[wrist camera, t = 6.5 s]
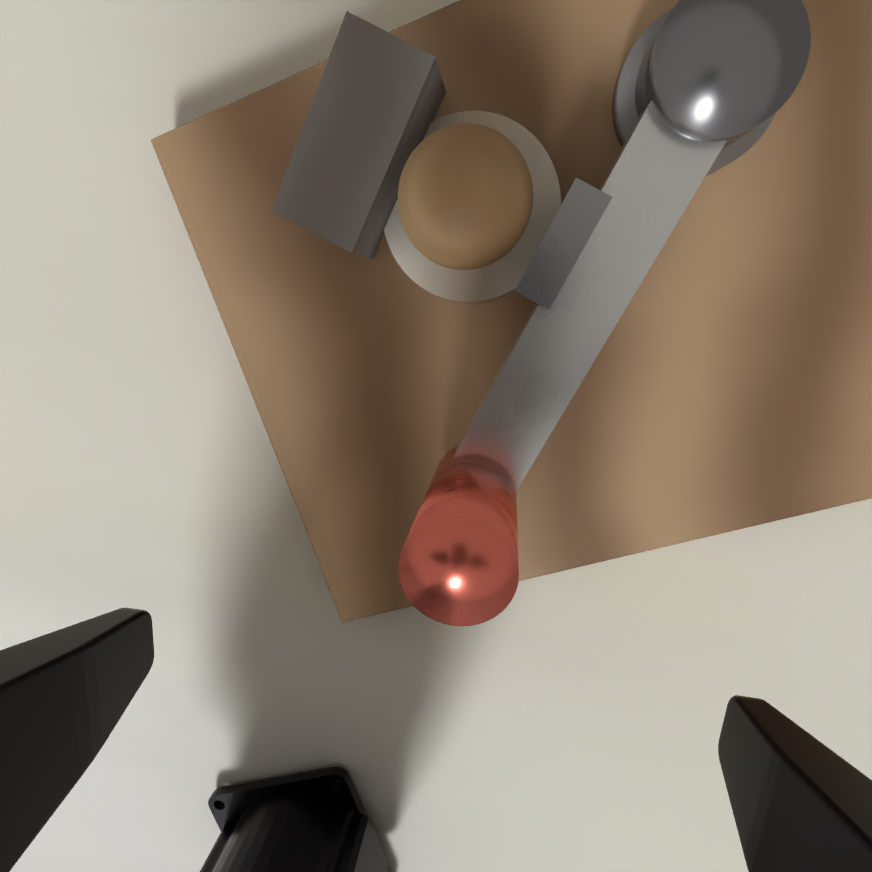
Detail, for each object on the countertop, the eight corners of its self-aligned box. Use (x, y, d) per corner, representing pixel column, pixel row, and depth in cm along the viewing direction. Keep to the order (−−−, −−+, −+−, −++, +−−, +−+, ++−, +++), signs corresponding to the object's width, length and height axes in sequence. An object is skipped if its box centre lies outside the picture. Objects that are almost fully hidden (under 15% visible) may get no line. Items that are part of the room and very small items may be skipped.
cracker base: (351, 604, 22) (321, 664, 18) (173, 149, 18) (94, 115, 15) (931, 465, 18) (1033, 506, 14) (834, -143, 14) (936, -282, 11)
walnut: (432, 289, 17) (412, 286, 14) (393, 170, 16) (363, 138, 13) (545, 249, 16) (554, 236, 13) (510, 124, 16) (510, 76, 12)
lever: (675, -9, 14) (799, -238, 8) (793, 55, 14) (1005, -127, 8) (410, 486, 18) (359, 580, 12) (501, 534, 18) (496, 653, 12)
